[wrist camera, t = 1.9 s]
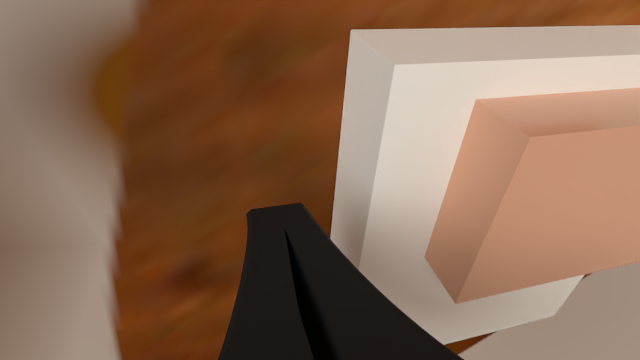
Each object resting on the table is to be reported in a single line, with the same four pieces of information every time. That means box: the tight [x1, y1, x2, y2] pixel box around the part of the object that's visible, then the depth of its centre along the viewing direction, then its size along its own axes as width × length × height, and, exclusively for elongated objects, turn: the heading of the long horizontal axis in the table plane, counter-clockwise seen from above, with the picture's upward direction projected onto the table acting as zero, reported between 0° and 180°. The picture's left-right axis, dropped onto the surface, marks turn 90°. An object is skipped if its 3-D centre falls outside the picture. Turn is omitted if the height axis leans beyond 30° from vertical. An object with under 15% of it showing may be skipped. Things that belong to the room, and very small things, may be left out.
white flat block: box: [330, 25, 640, 345], centre depth 15 cm, size 14×12×3 cm
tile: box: [424, 88, 640, 304], centre depth 12 cm, size 6×9×2 cm, turn 87°
